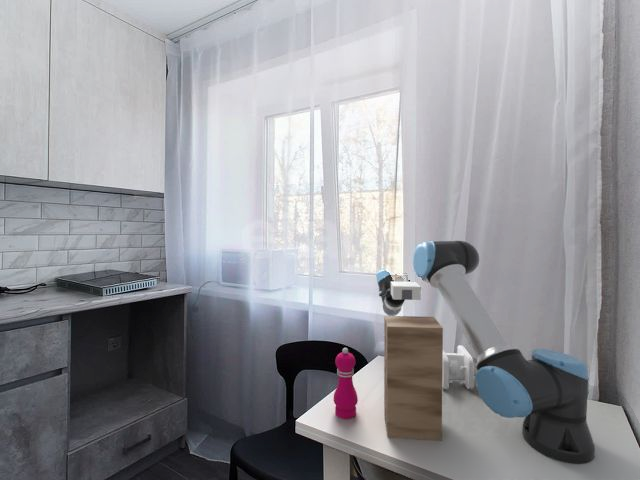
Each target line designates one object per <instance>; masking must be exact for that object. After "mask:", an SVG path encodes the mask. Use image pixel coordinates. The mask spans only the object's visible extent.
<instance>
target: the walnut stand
mask: <svg viewBox="0 0 640 480" xmlns="http://www.w3.org/2000/svg"><path fill="white" fill-rule="evenodd" d="M383 318H384V320H383V321H384V323H383V324H384V326H383V327H384V329H383V330H384V331H383V333H384V334H383V335H384V336H383V337H384V338H383V340H384V341H383V342H384V343H383V347H384V349H383V351H384V354H383V355H384V357H383V359H384V360H383V362H384V364H383V367H384V368H383V371H384V372H383V375H384V376H383V377H384V378H383V379H384V380H383V382H384V385H383V386H384V387H383V393H384V395H383V397H384V400H383V401H384V402H383V403H384V404H383V407H384V409H383V413H384V414H383V416H384V423H385V430H386V436H387V438H394V439H409V440H425V441H426V440H427V441H428V440H429V441H442V440H443V437H442V434H443V431H442V430H443V389H442V360H443V351H444V349H443V347H444V346H443V341H444V337H443V336H444V327H443V326H442V325H441V324H440V323H439V321H438V320H437V319H436V317H435V316H418V315H417V316H416V315H414V316H411V315H410V316H408V315H395V316H389V315H383Z"/></svg>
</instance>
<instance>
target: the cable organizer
mask: <svg viewBox="0 0 640 480" xmlns="http://www.w3.org/2000/svg"><path fill="white" fill-rule="evenodd" d="M456 350H457V352H456V353H455V352H445V350H443V360H442V390H449V388H450V385H452V386H453V381H459V382H460V384H461V385H462V384H463V385H465V387H466V390H473V389H474V366H475V365H474V364H475V363H474V359H473V358H474V357H472V355H471V354H470V353H469V352H468V350H467V349H466V348H465V346H464V345H457V348H456Z"/></svg>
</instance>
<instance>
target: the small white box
mask: <svg viewBox="0 0 640 480" xmlns="http://www.w3.org/2000/svg"><path fill="white" fill-rule="evenodd" d="M393 278H394V277H393ZM392 280H393V279H392ZM421 290H422V289H421V286H420V285H419V284H418V283H417V282H405V280H404V279H403V278H402V277H401V276H398V275H397V282H393V281H391V295H392V298H393V299H396V300H405V301H407V300H408V301H415V300H416V301H421V300H422V299H421V296H422V295H421V294H422V293H421Z"/></svg>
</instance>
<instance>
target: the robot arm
mask: <svg viewBox="0 0 640 480" xmlns="http://www.w3.org/2000/svg"><path fill="white" fill-rule="evenodd" d="M479 263H480V254H479V252H478V250H477V249H476V247H475V246H474V245H473V244H471V243H470V242H467V241H464V240H445V241H444V240H441V241H440V240H438V241H437V240H436V241H433V240H430V241H423V242H421V243H419V244H418V245H417V246H416V248H415V250H414V254H413V259H412V265H413V270H414V271H415V273H416V275H417V276H418V277H421V278H422V280H423V281H425V282H427V283H430V284H429V285H430V286H431V287H432V288H434V289H437V290H438V291H439V292H440V294H441V296H442V297H443V299H444V301H445V303H446V305H447V306H448V309H449V310H450V311H451V314H452V315H453V317H454V319H455V320H456V322H457V324H458V326H459V328H460V330H461V332H462V333H463V335H464V337H465V339H466V341H467V342H468V344H469V346H470V347H471V349H472V351H473V353H474V354H475V356H476V358H478V361H476V365H475V368H476V371H477V370H478V372H476V374H475V377H474V378H475V380H474V381H475V383H476V385H475V387H476V390H477V393H478V395H479V396H480V398H481V400H482V402H483V403H484V404H485V405H486V407H487V408H489V409H490V410H491V411H492V412H493V413H494V414H495V415H496V414H497V415H499V416H501V417H502V418H507V419H513V418H524V419H523V423H522V424H521V425H522V427H521V428H522V432H521V434H522V437H523V439H524V440H525V441H526V442H527V444H528V445H529V446H530V447H532V448H533V449H535V450H537V451H538V452H539V453H542V454H543V455H545V456H547V457H550V458H552V459H555V460H556V461H557V460H558V461H561V462H564V463H569V464H570V463H571V464H585V463H589V462H591V461H593V460H594V459H595V450H596V448H595V442H594V440H593V437H592V433H591V431H590V428H589V425H588V421H587V413H588V412H587V411H588V389H589V387H588V386H589V380H590V378H589V368H588V366H587V365H586V363H585V362H584V361H583V360H581V359H579V358H577V357H575V356H573V355H570V354H567V353H564V352H560V351H555V350H552V349H545V348H536V349H533V350H532V352H531V355H530V356H531V359H529V360H527V359H526V358H525V356H524V354H523V353H522V351H521V350H520V349H519V348H517V347H514V346H511V345H509V343H508V342H507V340H506V339H505V337H504V336H503V334H502V333H501V331H500V329H499V328H498V326H497V324H496V323H495V321H494V320H493V318H492V317H491V315H490V314H489V312H488V311H487V309H486V307H485V306H484V305H483V302H481V300H480V298H479V297H478V295H477V294H476V292H475V291H474V288H473V287H472V286H471V284H470V283H469V281H468V279H467V278H466V277H465V275H468V274H471V273H473V272H474V271H475V270H476V269H477V268H478V267H479ZM414 271H413V272H414ZM376 274H377V275H375V276H376V282H377V284H378V285H377V286H378V296H379V297H380V298H381V301H382V311H383V312H384V313H385V315H386V316H398V314H400V312H401V311H402V307H403V305H404V303H405V301H406V300H396V299H393V298H392V295H391V281H393V282H397V274H398V273H394V274H395V275H394V278H392V277H391V275H390V273H389V272H387V271H386V270H383V269H381V270H379V271H377V273H376ZM392 279H393V280H392ZM404 280H405V282H410V280H408V275H405V278H404Z"/></svg>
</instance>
